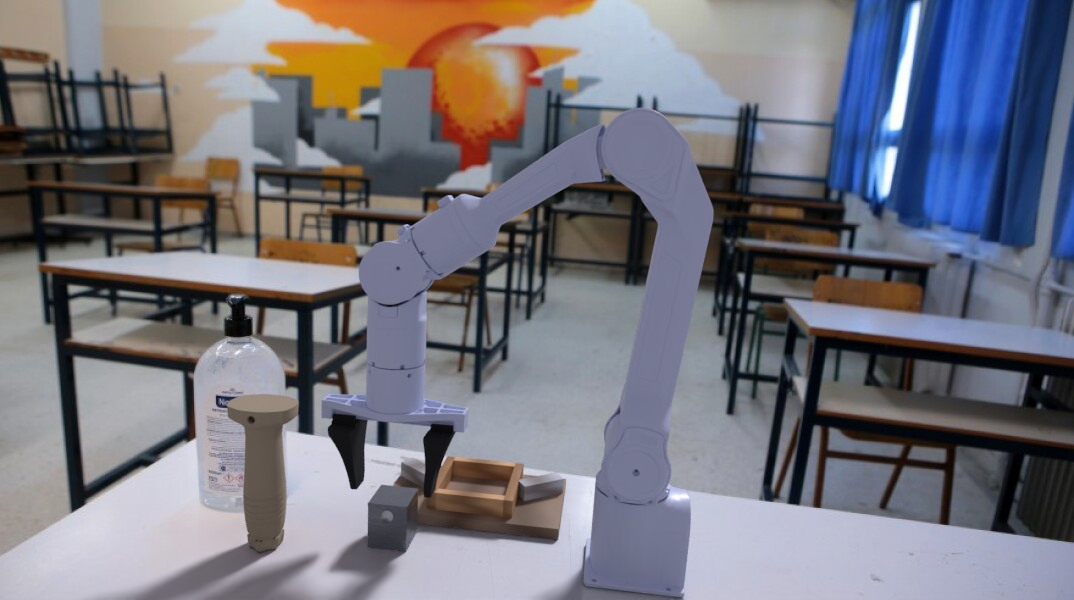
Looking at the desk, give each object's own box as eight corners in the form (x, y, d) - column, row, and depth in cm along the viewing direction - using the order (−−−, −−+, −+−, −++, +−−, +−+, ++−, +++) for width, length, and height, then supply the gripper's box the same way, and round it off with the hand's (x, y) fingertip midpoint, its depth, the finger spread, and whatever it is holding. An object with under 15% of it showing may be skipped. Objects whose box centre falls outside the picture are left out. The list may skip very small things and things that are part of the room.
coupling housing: (565, 487, 84) (567, 463, 83) (558, 539, 72) (560, 511, 72) (408, 471, 86) (409, 447, 85) (376, 518, 74) (376, 492, 73)
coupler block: (418, 529, 72) (419, 486, 72) (404, 554, 68) (405, 509, 67) (381, 525, 73) (382, 482, 72) (366, 550, 68) (366, 504, 67)
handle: (286, 561, 65) (284, 414, 63) (222, 554, 66) (217, 408, 63) (307, 534, 70) (306, 397, 67) (247, 528, 71) (244, 392, 68)
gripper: (476, 357, 70) (470, 479, 72) (341, 344, 71) (340, 464, 74) (461, 377, 63) (455, 511, 66) (312, 363, 64) (312, 494, 67)
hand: (393, 488), depth 69 cm, fingers open, 7 cm apart
